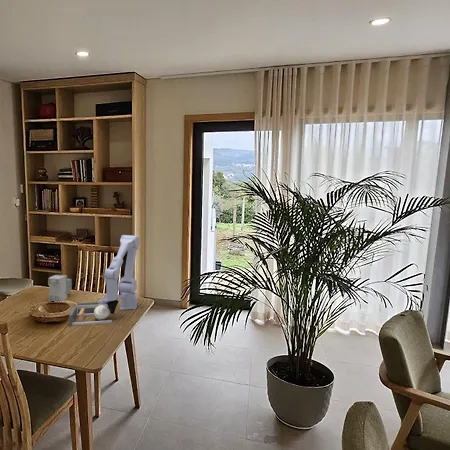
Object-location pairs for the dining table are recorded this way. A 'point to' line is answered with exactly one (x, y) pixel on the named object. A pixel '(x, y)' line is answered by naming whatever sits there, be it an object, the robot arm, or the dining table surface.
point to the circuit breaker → (59, 287)
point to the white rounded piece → (101, 312)
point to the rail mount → (88, 309)
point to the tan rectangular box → (82, 315)
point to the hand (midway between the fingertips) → (112, 313)
